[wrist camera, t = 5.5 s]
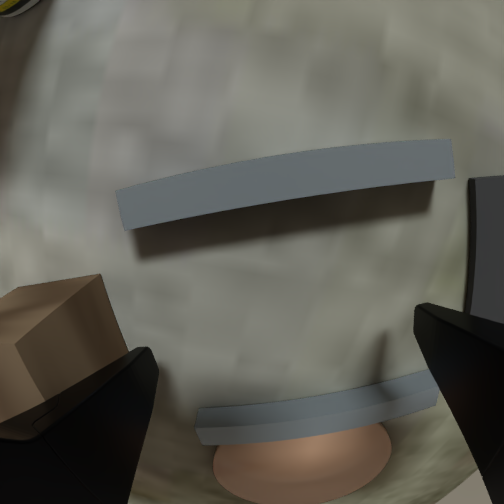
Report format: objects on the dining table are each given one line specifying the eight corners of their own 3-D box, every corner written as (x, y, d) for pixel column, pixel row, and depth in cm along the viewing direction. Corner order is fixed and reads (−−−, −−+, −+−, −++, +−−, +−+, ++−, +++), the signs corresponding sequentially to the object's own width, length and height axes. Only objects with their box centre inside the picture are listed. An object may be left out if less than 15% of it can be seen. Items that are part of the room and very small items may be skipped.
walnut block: (100, 273, 10) (14, 344, 5) (142, 383, 12) (98, 473, 7) (17, 287, 11) (-58, 339, 6) (58, 379, 12) (8, 445, 7)
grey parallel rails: (432, 140, 8) (451, 139, 7) (425, 388, 11) (435, 405, 10) (131, 187, 9) (115, 191, 8) (206, 426, 12) (202, 445, 11)
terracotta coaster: (397, 386, 11) (402, 395, 11) (379, 483, 14) (381, 490, 13) (191, 416, 12) (189, 425, 11) (235, 503, 14) (234, 510, 14)
